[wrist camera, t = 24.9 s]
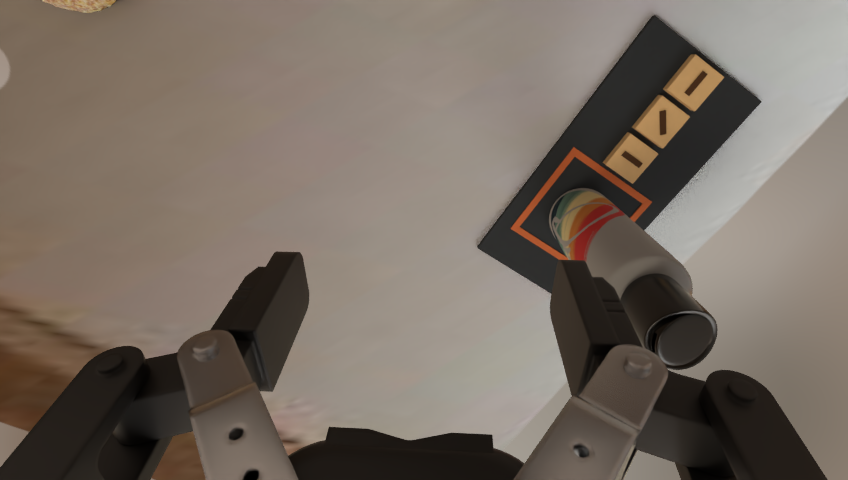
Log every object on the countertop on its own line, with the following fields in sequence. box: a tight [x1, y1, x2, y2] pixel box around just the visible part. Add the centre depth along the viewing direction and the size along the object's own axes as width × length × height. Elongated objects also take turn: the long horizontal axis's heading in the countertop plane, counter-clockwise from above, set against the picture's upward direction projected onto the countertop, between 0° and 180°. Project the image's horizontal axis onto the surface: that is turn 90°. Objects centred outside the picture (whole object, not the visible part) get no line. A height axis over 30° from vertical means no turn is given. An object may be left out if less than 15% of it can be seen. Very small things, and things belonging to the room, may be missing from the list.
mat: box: [477, 16, 761, 294], centre depth 40 cm, size 24×12×1 cm, turn 147°
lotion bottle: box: [549, 188, 717, 370], centre depth 33 cm, size 6×6×20 cm
